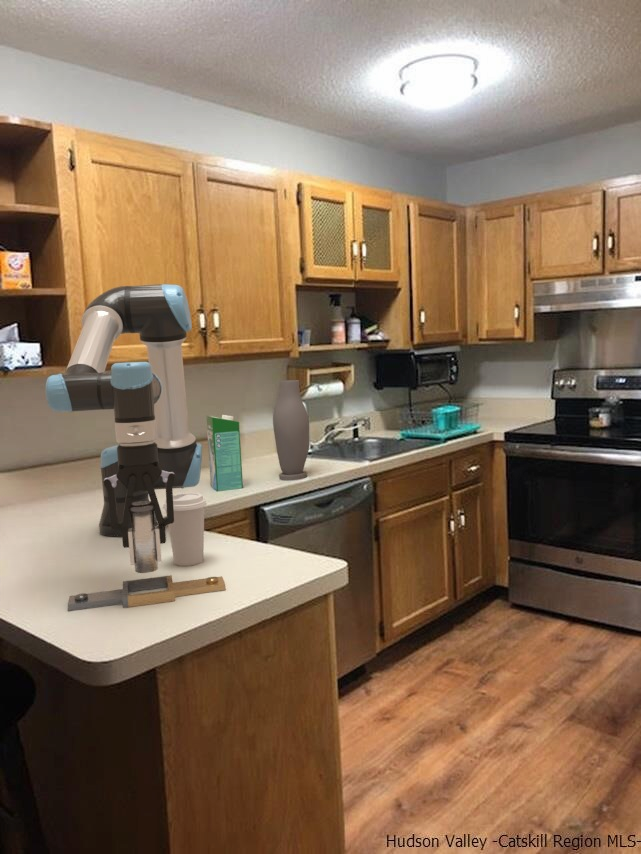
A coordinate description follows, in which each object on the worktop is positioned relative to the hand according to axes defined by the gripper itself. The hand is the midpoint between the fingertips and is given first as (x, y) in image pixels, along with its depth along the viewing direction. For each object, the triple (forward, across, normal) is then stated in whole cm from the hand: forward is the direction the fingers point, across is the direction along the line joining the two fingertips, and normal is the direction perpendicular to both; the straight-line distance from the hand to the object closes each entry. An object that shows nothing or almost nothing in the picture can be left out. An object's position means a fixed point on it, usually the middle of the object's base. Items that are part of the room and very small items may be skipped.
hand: (145, 561), depth 136 cm
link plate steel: (+7, -6, 0) cm, 9 cm away
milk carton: (+7, +28, +99) cm, 103 cm away
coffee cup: (+7, +9, +20) cm, 23 cm away
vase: (+7, +53, +106) cm, 119 cm away
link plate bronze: (+7, +6, 0) cm, 9 cm away
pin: (+2, 0, 0) cm, 2 cm away
